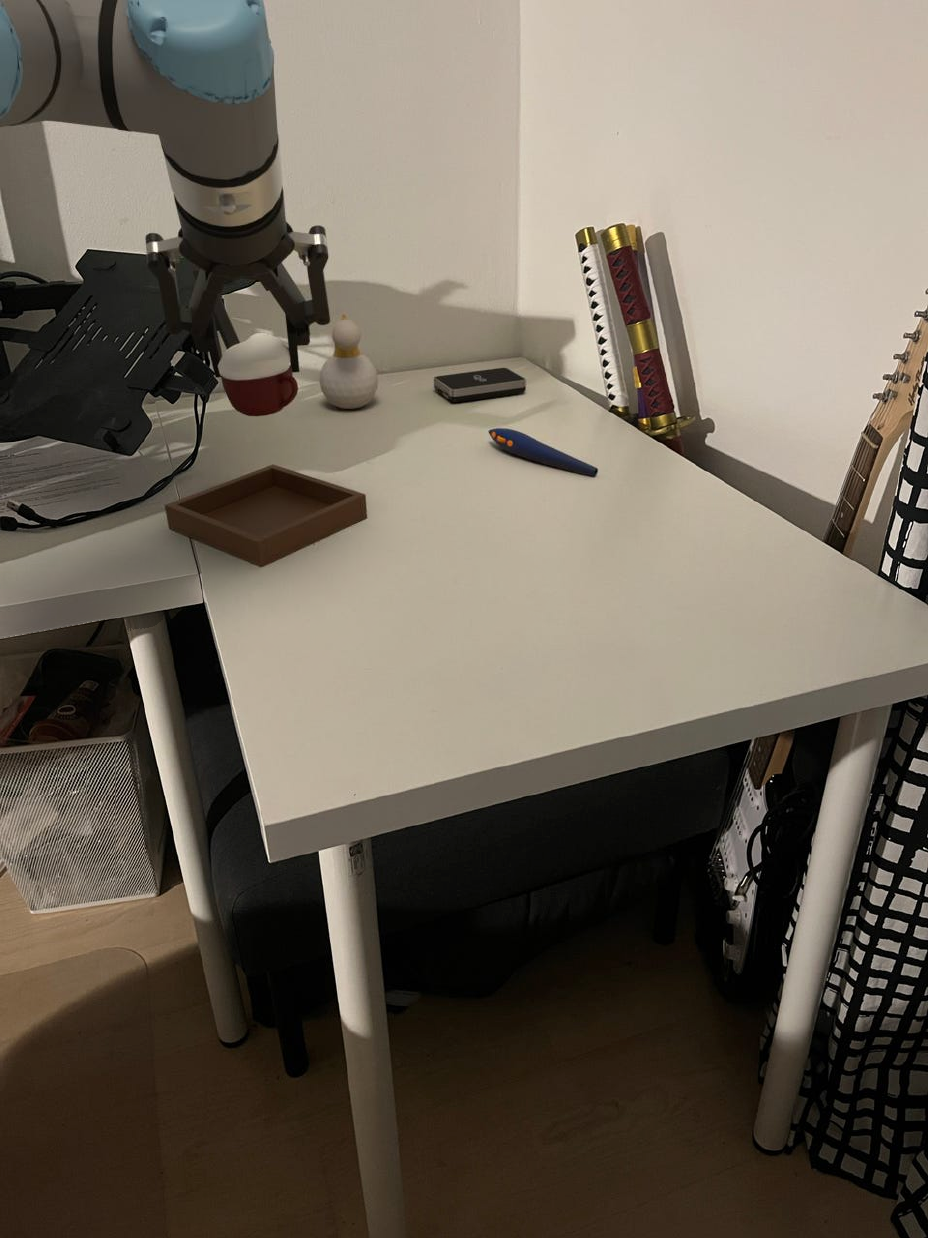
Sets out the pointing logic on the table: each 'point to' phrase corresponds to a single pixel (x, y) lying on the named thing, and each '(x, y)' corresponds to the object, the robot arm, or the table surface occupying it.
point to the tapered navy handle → (538, 451)
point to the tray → (266, 513)
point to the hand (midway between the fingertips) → (256, 361)
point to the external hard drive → (479, 384)
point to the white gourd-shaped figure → (348, 370)
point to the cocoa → (253, 368)
